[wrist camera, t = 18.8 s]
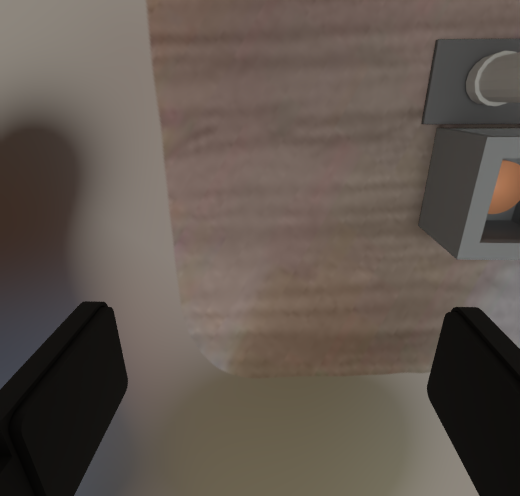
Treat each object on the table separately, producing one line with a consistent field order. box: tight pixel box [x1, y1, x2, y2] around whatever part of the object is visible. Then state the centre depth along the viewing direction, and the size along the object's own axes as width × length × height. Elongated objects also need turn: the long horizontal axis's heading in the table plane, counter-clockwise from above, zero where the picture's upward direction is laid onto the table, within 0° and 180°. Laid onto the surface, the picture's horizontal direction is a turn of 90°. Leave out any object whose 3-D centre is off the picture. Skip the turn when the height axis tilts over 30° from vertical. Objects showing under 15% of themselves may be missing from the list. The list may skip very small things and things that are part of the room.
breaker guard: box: [418, 128, 520, 260], centre depth 40 cm, size 13×13×11 cm
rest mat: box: [422, 39, 520, 124], centre depth 41 cm, size 9×13×1 cm
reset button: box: [488, 160, 520, 214], centre depth 42 cm, size 6×6×3 cm
